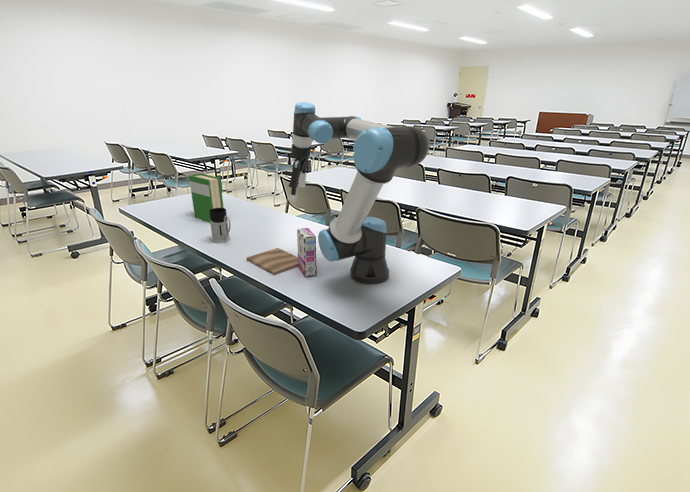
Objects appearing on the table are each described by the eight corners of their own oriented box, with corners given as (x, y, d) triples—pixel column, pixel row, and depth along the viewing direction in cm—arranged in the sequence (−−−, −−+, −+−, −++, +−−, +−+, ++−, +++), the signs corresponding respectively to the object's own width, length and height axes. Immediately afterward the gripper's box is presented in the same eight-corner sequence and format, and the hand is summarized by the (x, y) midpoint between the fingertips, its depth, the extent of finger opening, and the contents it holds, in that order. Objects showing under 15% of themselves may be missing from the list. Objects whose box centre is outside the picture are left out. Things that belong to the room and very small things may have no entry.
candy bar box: (317, 275, 151) (316, 236, 145) (305, 277, 150) (303, 237, 144) (309, 264, 161) (308, 227, 155) (297, 266, 160) (296, 228, 153)
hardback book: (225, 220, 215) (220, 177, 206) (213, 223, 209) (207, 179, 200) (206, 214, 225) (200, 173, 216) (194, 217, 219) (188, 175, 210)
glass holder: (224, 235, 193) (221, 206, 187) (240, 242, 184) (237, 212, 178) (208, 239, 187) (204, 210, 181) (223, 247, 178) (220, 216, 172)
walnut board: (305, 263, 162) (305, 260, 162) (273, 275, 152) (273, 272, 151) (277, 250, 175) (277, 247, 175) (246, 260, 165) (246, 257, 164)
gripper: (300, 133, 160) (296, 180, 172) (282, 153, 139) (279, 205, 151) (318, 136, 159) (313, 183, 171) (303, 157, 139) (298, 209, 151)
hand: (297, 193), depth 161 cm, fingers open, 13 cm apart
